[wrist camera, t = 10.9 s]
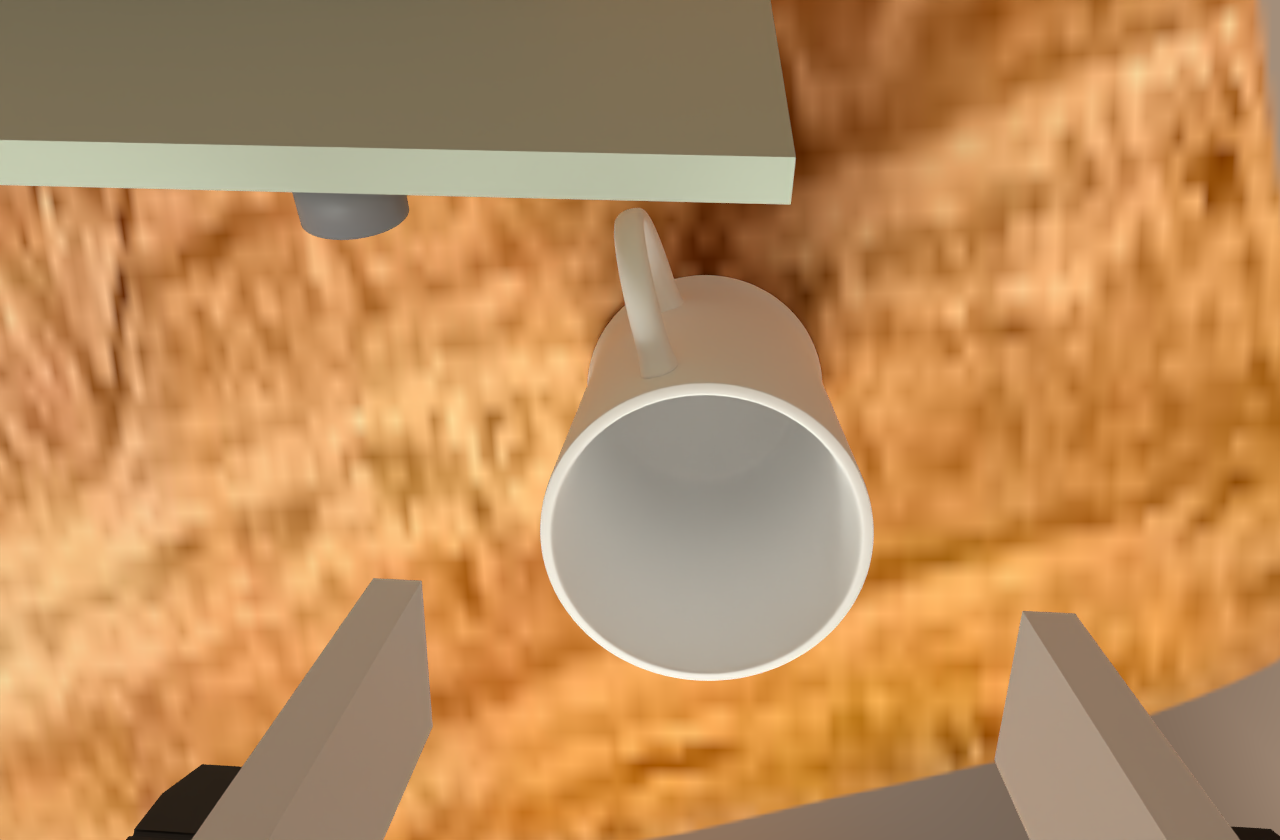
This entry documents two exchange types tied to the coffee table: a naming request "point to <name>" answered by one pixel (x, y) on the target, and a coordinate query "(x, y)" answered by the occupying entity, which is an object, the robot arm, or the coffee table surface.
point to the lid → (397, 101)
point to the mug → (704, 480)
